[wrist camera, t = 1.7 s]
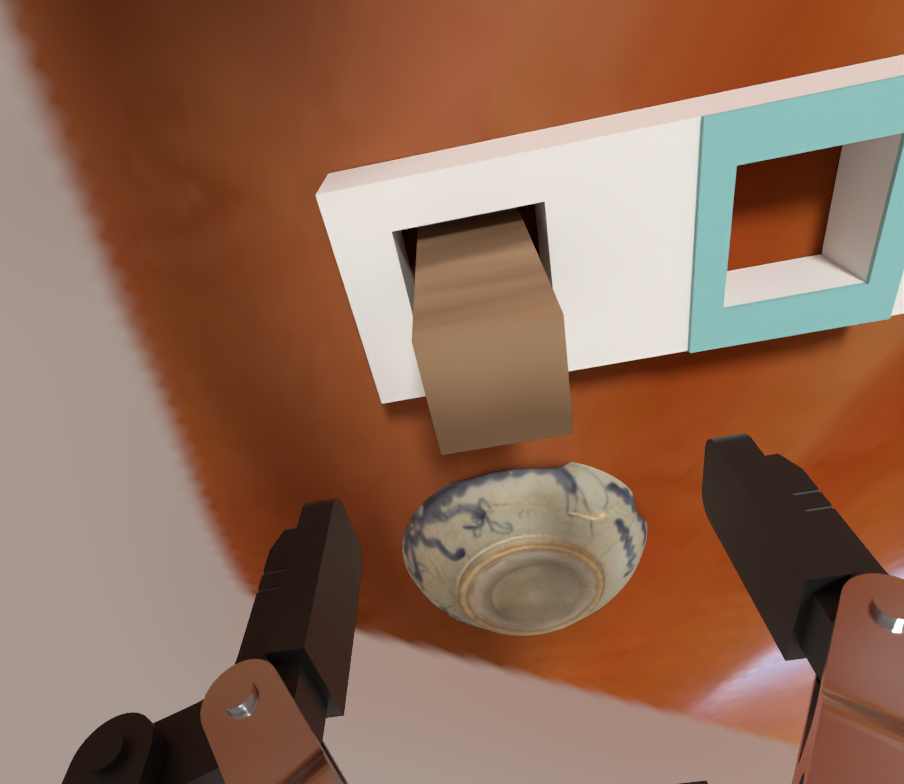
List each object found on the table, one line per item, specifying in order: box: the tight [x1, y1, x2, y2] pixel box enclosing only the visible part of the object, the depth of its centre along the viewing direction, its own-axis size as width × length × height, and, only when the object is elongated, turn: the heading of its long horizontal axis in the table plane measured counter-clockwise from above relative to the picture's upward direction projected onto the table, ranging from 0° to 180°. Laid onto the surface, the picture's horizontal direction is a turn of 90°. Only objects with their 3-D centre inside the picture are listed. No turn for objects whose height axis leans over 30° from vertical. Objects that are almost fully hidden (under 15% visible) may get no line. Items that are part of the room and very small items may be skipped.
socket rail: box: [316, 55, 904, 404], centre depth 22 cm, size 9×22×3 cm, turn 101°
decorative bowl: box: [402, 462, 647, 636], centre depth 34 cm, size 15×4×15 cm
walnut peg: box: [412, 207, 574, 455], centre depth 20 cm, size 4×4×10 cm
